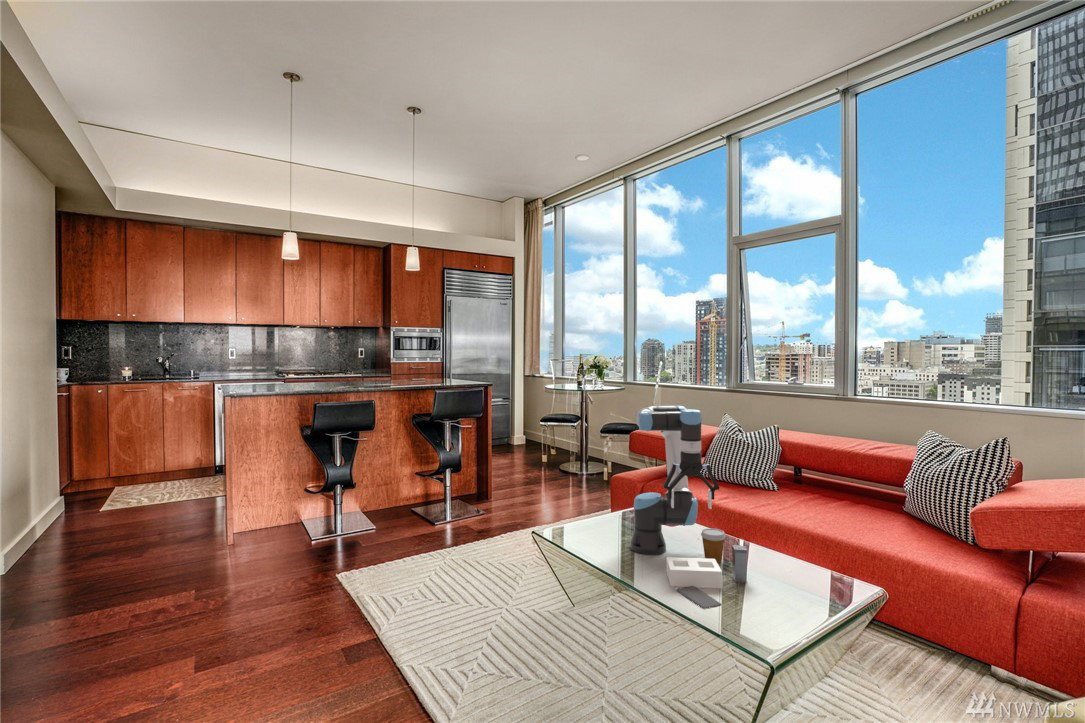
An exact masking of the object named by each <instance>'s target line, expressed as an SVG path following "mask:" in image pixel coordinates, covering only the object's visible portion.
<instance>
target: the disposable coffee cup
mask: <svg viewBox="0 0 1085 723" xmlns="http://www.w3.org/2000/svg"><path fill="white" fill-rule="evenodd" d="M700 536H701V539H702V545H703V546H702V547H703V552H704V554H703V555H704V558H708V559H715V560H716V562H717V564H718V565H720V564H722V561H723V553H724V546H725V545H724V544H725V539H726V533H725V531H724V530H721V529H719V528H713V527H712V528H708V527H707V528H703V529H702V530H701V533H700Z"/></svg>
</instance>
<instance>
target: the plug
mask: <svg viewBox="0 0 1085 723" xmlns="http://www.w3.org/2000/svg"><path fill="white" fill-rule="evenodd" d="M731 549H732V578H733V580H734V582H735V583H747V581H748V579H747V575H748V574H747V571H748V570H747V565H748V564H747V560H748V559H747V557H748V556H747V554H748V549H747V548H746V546H745V545H738V544H737V545H735V544H734V545H733V544H732V545H731Z"/></svg>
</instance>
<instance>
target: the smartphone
mask: <svg viewBox="0 0 1085 723" xmlns="http://www.w3.org/2000/svg"><path fill="white" fill-rule="evenodd" d="M676 591H678V592H677V593H679V594H680V595H682V597H685V598H686V599H688V600H689V601H691V602H692V601H693V602H694V603H693V602H692V603H693V604H695V605H696V604H697V606H698V605H699V606H700V608H701V607H702V608H708V609H710V608H709V607H712V608H716V607H721V606H722V603H721V602H719V601H717V600H716V599H715V598H713V597H712V596H710V595H708V594H707V593H706V592H704V591H702V589H701V590H700V589H699V587H695V586H689V587H680V588H679V587H678V588H677V589H676ZM699 606H698V607H699ZM702 608H701V609H702Z"/></svg>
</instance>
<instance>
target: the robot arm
mask: <svg viewBox="0 0 1085 723" xmlns="http://www.w3.org/2000/svg"><path fill="white" fill-rule="evenodd" d="M702 421H703V419H702V412H701V411H700V410H699V409H694V408H693V409H692V408H691V409H689V408H687V407H685V406H683V405H677V404H676V405H675V404H674V405H648V406H645V407H642V408H640V409H638V410H637V412H635V416H634V422H635V424H636V425H637V426H638V429H639V431H645V432H654V431H655V432H657V431H658V432H659V431H660V435H661V436H662V437H663V438H664V444H665V457H666V458H665V459H666V460H665V461H666V472H667V477H666V479H665V481H664V482H663V484H662V487H663V488H664V489H666V490H667V491H666V492H665V493H664V495H665V496H662V494H661V493H660V492H659V493H658V492H650V491H649V492H643V493H641V494H637V495H636V496H635V498H634V500H633V501H634V502H633V510H634V512H633V515H634V517H633V520H634V522H633V525H634V526H633V533H632V535H631V538H630V542H629V545H630V549H631V551H633V552H635V553H638V554H642V555H647V556H648V555H650V556H651V555H652V556H653V555H659V554H663V553H665V552H666V551H667V544H666V541H665V537H664V535H663V532H662V531H663V530H662V528H663V527H662V526H683V527H685V526H694V525H695V523H696V522H697V518H698V508H699V507H698V506H699V505H698V498H697V497H695V496H694V495H693V494H694V493H693V491H691V490H690V488H689V480H688V477H697V476H698V477H699V478H700V479H701V480H702V481H703V483H704V485H706V486H707V487H708V488H709V489H707V507H708V509H709V510H712V506H713V504H712V500H713V501H714V500H715V491H717V490H720V486H719V483H718V482H717V480H716V478H715V476H714V474H713V473H712V468H711V465H710V464H709V463H707V462H706V464H703V463H702V452H701V451H702ZM703 469H704V471H706V472H707V474H708V476H709V478H710V480H711V482H712V484H713V486H712V484H711V483H710V482H709V481H708V479H706V477H705V476H704V475H703V474H702V473H701V472H702V470H703Z"/></svg>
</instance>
